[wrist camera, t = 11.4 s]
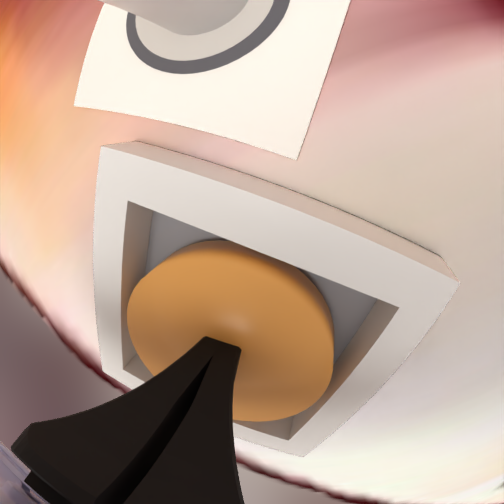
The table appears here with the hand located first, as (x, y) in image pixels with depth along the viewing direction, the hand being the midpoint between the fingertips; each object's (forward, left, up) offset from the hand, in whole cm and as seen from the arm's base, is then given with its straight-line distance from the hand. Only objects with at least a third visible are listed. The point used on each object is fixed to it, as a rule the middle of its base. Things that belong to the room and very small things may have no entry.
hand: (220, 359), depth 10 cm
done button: (0, 0, -1) cm, 1 cm away
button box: (0, 0, -2) cm, 2 cm away
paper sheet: (+5, -12, -2) cm, 13 cm away
